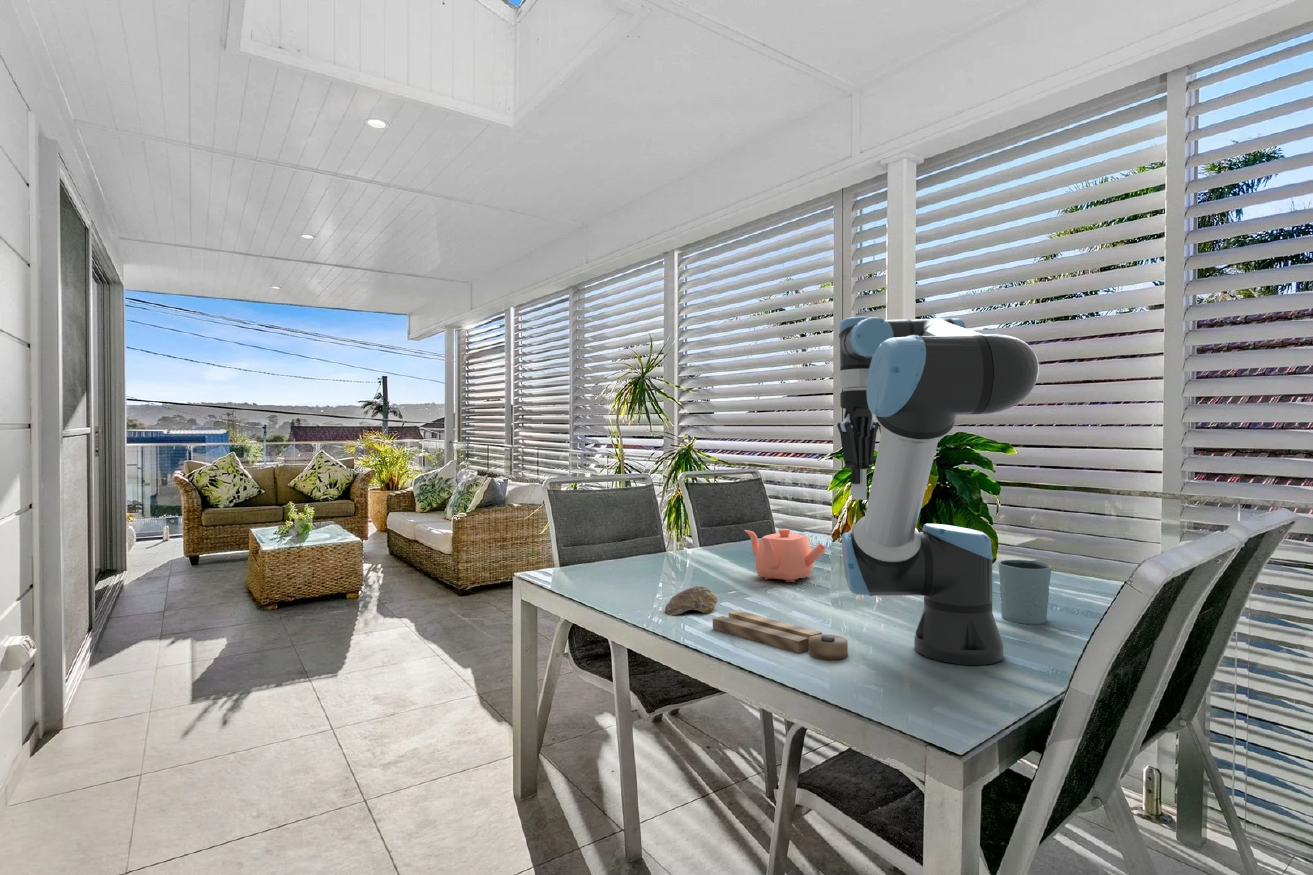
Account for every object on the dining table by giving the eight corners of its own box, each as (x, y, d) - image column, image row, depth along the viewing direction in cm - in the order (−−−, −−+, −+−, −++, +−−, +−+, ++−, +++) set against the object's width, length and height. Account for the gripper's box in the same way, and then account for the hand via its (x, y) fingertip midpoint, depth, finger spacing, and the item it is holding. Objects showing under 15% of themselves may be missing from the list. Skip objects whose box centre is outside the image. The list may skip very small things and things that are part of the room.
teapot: (762, 587, 182) (762, 535, 182) (744, 573, 200) (743, 525, 200) (828, 584, 185) (827, 532, 184) (803, 570, 203) (803, 523, 203)
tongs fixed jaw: (855, 654, 127) (855, 636, 127) (833, 662, 122) (833, 645, 122) (735, 622, 149) (734, 607, 149) (712, 628, 144) (712, 613, 144)
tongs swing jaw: (821, 643, 133) (821, 632, 133) (812, 646, 131) (812, 635, 131) (738, 620, 149) (738, 610, 149) (728, 622, 148) (728, 612, 148)
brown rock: (661, 606, 164) (660, 586, 164) (712, 604, 166) (711, 583, 166) (667, 617, 155) (666, 595, 155) (721, 614, 156) (721, 592, 156)
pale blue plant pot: (1000, 610, 156) (1000, 557, 156) (1052, 616, 150) (1052, 561, 150) (996, 621, 147) (996, 565, 147) (1051, 628, 142) (1050, 570, 142)
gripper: (859, 391, 156) (860, 495, 156) (825, 390, 147) (827, 500, 147) (889, 390, 150) (890, 497, 151) (856, 388, 142) (858, 502, 142)
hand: (859, 498), depth 149 cm, fingers closed
